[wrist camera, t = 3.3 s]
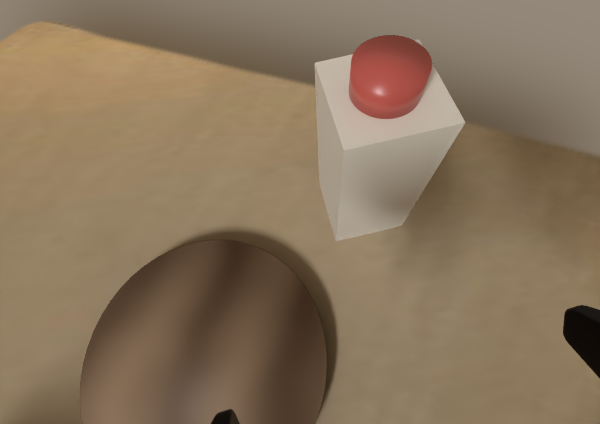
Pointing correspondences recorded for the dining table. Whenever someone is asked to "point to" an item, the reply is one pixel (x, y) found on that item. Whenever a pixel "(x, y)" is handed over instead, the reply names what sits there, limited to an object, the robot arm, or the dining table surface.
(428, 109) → the square squeeze bottle
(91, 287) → the dining table surface
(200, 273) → the walnut serving board
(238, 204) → the dining table surface
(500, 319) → the dining table surface
